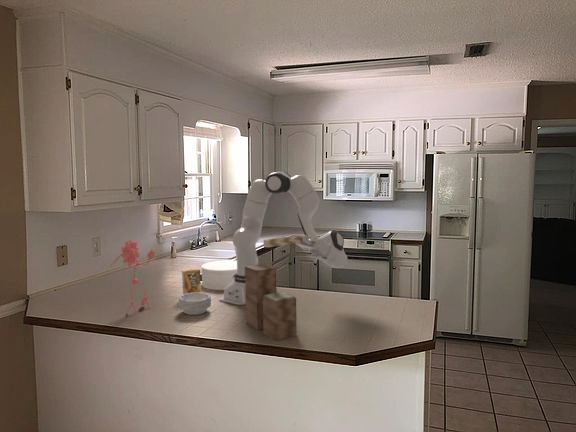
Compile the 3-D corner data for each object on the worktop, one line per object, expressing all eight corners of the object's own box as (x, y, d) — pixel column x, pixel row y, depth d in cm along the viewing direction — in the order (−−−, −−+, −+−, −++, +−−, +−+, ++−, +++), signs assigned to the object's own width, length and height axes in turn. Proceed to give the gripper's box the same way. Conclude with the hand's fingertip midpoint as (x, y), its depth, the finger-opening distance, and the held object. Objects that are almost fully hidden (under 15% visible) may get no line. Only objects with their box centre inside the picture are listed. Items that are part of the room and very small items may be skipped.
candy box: (198, 295, 257) (197, 268, 255) (201, 297, 253) (200, 269, 252) (182, 298, 253) (181, 270, 251) (185, 300, 249) (184, 271, 247)
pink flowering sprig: (162, 303, 243) (157, 236, 239) (126, 319, 219) (121, 245, 216) (138, 301, 249) (133, 235, 245) (101, 316, 226) (95, 244, 222)
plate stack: (195, 289, 271) (194, 270, 269) (210, 277, 298) (209, 259, 297) (243, 290, 267) (243, 270, 266) (253, 278, 294) (253, 260, 293)
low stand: (283, 328, 205) (282, 291, 203) (296, 335, 197) (296, 296, 195) (263, 333, 199) (262, 294, 197) (276, 340, 191) (275, 300, 189)
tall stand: (265, 319, 217) (264, 263, 214) (277, 325, 209) (276, 267, 206) (246, 323, 212) (244, 266, 209) (257, 329, 203) (256, 270, 200)
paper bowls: (215, 313, 226) (215, 297, 225) (184, 319, 219) (184, 302, 218) (205, 305, 239) (204, 290, 239) (175, 310, 232) (174, 294, 231)
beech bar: (304, 241, 221) (304, 234, 221) (307, 241, 219) (307, 235, 218) (263, 246, 209) (263, 239, 209) (267, 247, 207) (267, 240, 206)
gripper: (309, 241, 234) (289, 229, 227) (336, 246, 217) (315, 234, 210) (304, 252, 233) (284, 241, 226) (331, 259, 216) (309, 247, 209)
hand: (299, 238), depth 218 cm, fingers closed on beech bar, 3 cm apart
